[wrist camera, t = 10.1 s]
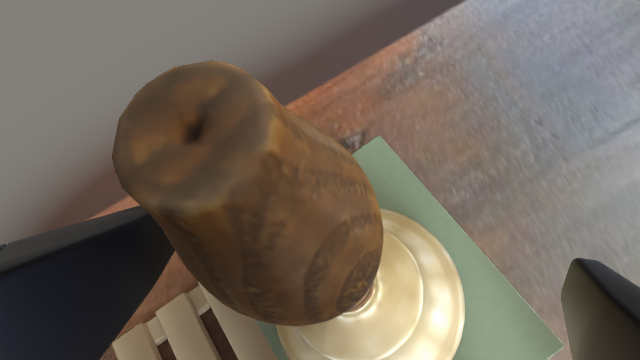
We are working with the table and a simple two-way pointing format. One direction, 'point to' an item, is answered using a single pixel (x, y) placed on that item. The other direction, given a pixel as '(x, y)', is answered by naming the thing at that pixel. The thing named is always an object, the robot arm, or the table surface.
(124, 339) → the rack
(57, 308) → the robot arm
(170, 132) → the hand bell
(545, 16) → the table surface
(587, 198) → the table surface
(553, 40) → the table surface
